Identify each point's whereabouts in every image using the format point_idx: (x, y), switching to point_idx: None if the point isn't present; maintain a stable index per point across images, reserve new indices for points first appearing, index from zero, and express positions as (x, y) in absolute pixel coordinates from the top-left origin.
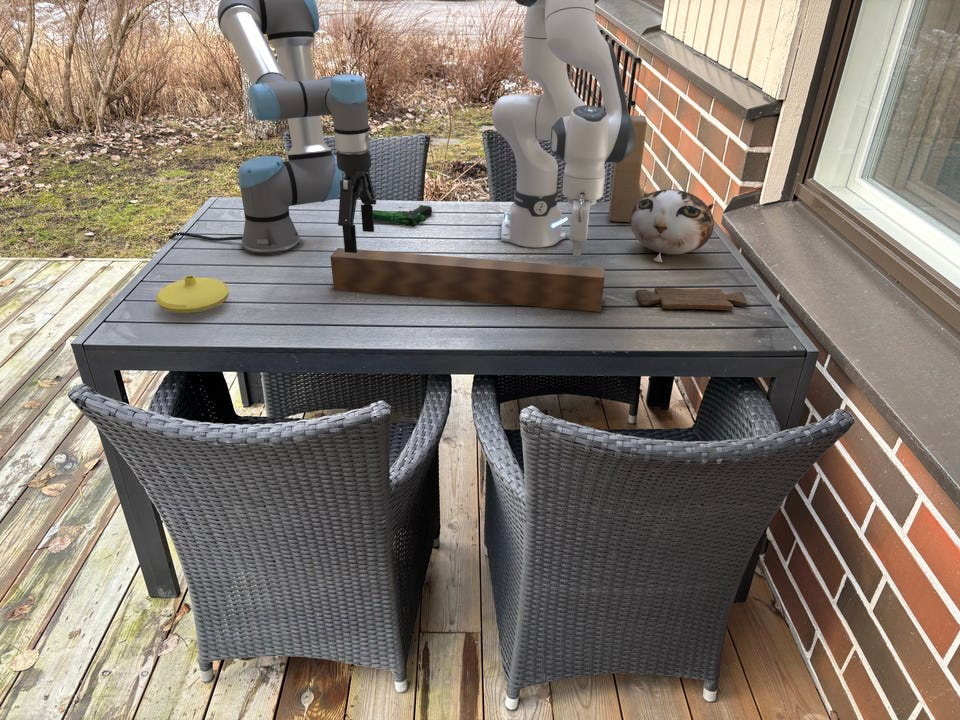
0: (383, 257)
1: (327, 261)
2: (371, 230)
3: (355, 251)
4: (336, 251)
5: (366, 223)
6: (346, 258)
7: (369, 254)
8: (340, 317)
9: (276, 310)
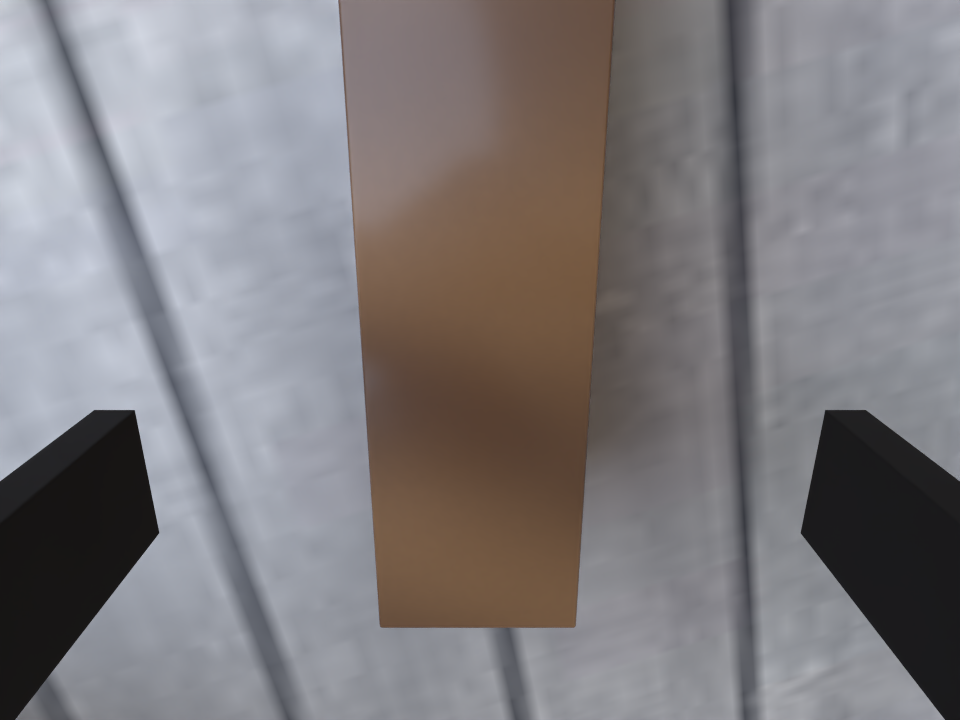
0: (524, 151)
1: (169, 617)
2: (128, 441)
3: (878, 426)
4: (461, 614)
5: (88, 551)
6: (581, 498)
7: (473, 323)
8: (928, 314)
9: (833, 647)
